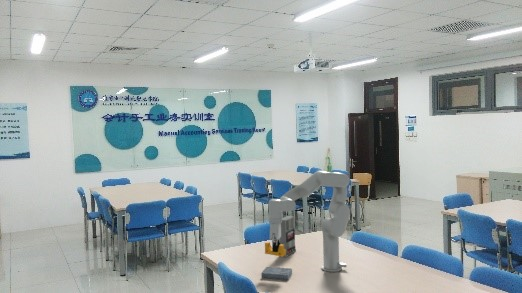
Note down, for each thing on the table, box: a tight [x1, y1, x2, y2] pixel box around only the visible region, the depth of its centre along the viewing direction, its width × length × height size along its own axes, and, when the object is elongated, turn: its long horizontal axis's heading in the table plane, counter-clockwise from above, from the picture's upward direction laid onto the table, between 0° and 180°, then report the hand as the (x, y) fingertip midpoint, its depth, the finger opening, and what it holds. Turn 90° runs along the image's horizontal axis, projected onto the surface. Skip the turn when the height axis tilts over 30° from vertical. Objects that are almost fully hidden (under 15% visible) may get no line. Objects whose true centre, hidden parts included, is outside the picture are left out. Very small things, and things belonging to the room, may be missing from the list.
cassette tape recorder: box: [280, 215, 297, 257], centre depth 283 cm, size 14×6×25 cm, turn 148°
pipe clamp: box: [264, 241, 286, 257], centre depth 242 cm, size 12×4×6 cm, turn 55°
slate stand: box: [261, 266, 293, 281], centre depth 241 cm, size 16×11×3 cm
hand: (276, 250), depth 241 cm, fingers closed on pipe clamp, 4 cm apart
